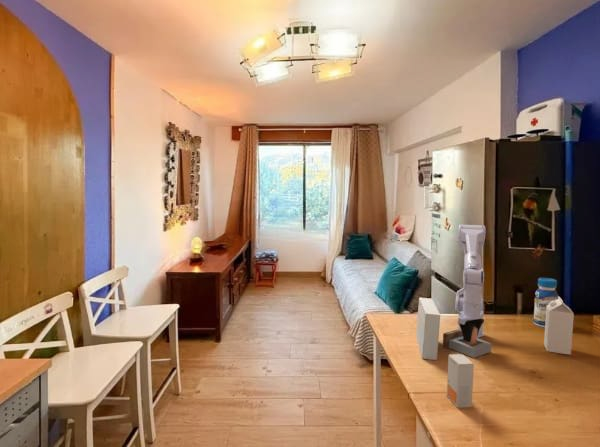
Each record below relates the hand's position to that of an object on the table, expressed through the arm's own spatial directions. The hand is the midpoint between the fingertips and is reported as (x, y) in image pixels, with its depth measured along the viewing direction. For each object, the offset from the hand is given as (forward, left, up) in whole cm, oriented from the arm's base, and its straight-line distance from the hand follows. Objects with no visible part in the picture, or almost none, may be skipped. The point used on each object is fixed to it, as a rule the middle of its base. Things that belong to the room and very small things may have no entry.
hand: (470, 339), depth 136 cm
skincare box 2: (+33, +20, -4) cm, 39 cm away
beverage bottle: (-52, 0, -4) cm, 52 cm away
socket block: (0, 0, -4) cm, 4 cm away
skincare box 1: (+12, -9, -4) cm, 16 cm away
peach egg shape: (0, 0, -3) cm, 3 cm away
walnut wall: (0, -6, -4) cm, 7 cm away
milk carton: (-28, +16, -4) cm, 32 cm away
